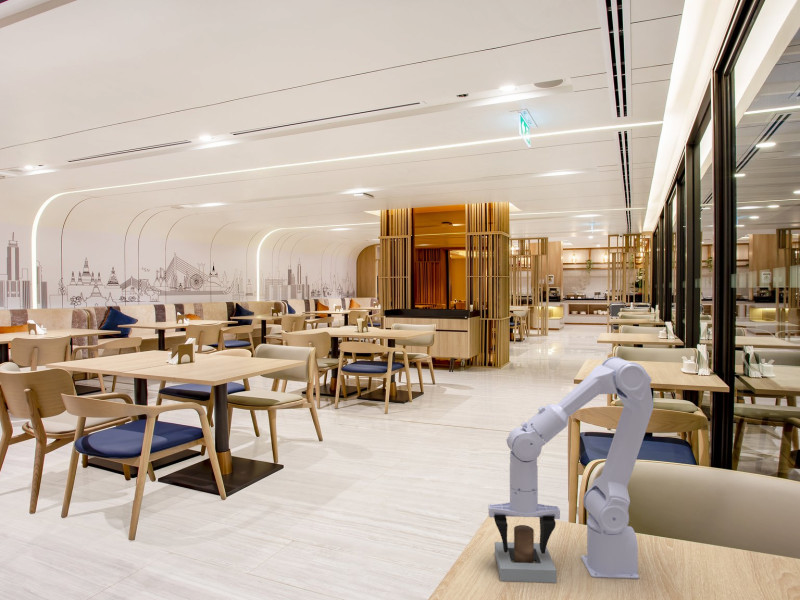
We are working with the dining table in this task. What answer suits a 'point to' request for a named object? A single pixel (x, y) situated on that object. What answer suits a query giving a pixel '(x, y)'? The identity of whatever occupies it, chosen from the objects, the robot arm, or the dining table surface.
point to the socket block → (525, 565)
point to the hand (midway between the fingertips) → (523, 550)
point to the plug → (523, 544)
